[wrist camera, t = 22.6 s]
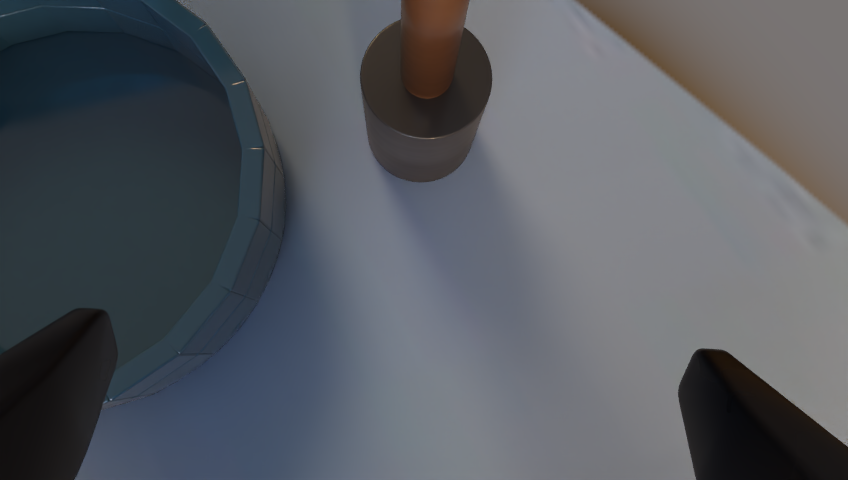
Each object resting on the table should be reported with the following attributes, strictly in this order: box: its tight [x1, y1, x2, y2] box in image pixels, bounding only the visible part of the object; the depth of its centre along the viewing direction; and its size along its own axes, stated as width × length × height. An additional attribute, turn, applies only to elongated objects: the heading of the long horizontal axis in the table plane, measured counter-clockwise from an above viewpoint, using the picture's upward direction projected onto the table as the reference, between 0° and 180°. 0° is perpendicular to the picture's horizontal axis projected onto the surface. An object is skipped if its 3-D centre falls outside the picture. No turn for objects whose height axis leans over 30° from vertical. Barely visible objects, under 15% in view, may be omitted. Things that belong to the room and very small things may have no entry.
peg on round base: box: [360, 0, 492, 182], centre depth 17 cm, size 4×4×14 cm
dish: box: [0, 0, 286, 410], centre depth 21 cm, size 14×14×4 cm
